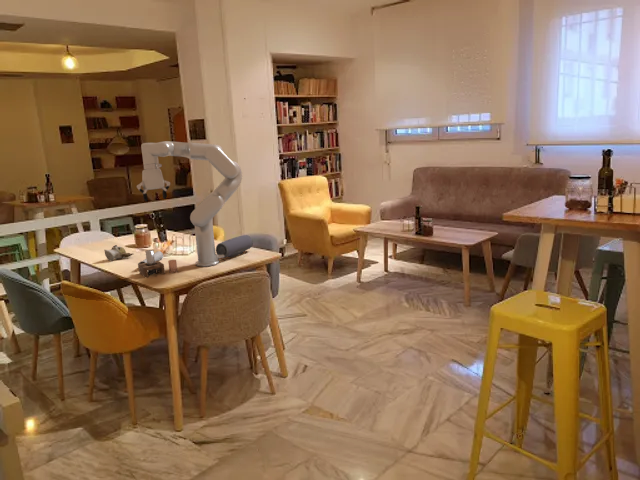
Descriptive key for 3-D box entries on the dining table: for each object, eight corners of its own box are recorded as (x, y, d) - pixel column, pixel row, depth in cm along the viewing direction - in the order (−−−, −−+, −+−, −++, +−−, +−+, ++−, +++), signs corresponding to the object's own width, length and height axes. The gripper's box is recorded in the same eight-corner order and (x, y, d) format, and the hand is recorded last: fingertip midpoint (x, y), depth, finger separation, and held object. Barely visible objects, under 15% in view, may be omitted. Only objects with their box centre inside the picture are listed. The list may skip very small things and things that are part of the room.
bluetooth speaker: (241, 249, 302) (240, 233, 300) (254, 251, 297) (252, 234, 295) (215, 259, 283) (214, 241, 281) (228, 260, 278) (227, 243, 276)
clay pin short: (176, 270, 266) (174, 259, 265) (178, 271, 263) (177, 260, 261) (168, 271, 264) (167, 260, 263) (170, 273, 261) (169, 262, 259)
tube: (154, 251, 293) (136, 263, 268) (162, 248, 292) (144, 259, 268) (158, 260, 294) (140, 272, 269) (166, 257, 293) (149, 268, 269)
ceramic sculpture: (99, 245, 292) (124, 241, 303) (101, 260, 294) (125, 256, 305) (108, 248, 285) (133, 244, 296) (109, 263, 287) (134, 258, 298)
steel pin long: (155, 271, 265) (152, 249, 262) (157, 273, 262) (154, 250, 259) (147, 273, 263) (144, 250, 260) (149, 274, 260) (146, 252, 257)
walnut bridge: (158, 269, 269) (157, 260, 268) (164, 273, 261) (163, 264, 260) (139, 273, 264) (138, 264, 262) (145, 277, 255) (144, 268, 254)
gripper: (165, 165, 270) (169, 197, 274) (132, 168, 261) (136, 201, 264) (170, 165, 264) (174, 198, 268) (136, 169, 254) (140, 202, 258)
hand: (155, 199), depth 266 cm, fingers open, 9 cm apart
